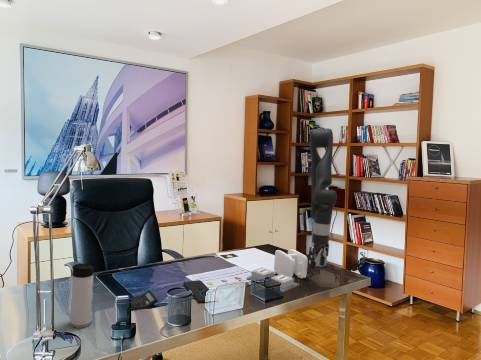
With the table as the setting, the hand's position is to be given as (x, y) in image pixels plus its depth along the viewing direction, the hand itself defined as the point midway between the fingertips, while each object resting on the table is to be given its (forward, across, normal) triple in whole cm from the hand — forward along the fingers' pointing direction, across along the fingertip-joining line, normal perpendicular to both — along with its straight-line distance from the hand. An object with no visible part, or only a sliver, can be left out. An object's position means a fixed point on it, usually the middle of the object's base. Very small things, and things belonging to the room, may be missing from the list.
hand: (317, 267), depth 172 cm
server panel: (+9, +14, -15) cm, 22 cm away
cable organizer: (+9, -1, -15) cm, 17 cm away
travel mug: (+10, +95, -33) cm, 101 cm away
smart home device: (+10, +47, -27) cm, 55 cm away
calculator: (+10, +72, -34) cm, 80 cm away
